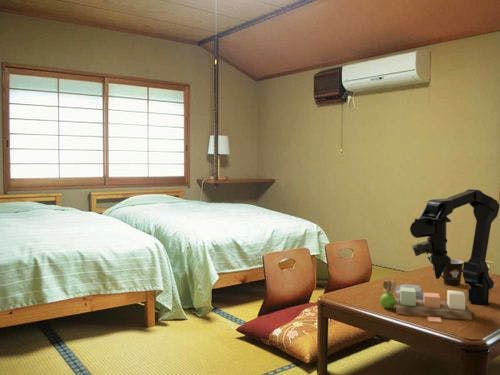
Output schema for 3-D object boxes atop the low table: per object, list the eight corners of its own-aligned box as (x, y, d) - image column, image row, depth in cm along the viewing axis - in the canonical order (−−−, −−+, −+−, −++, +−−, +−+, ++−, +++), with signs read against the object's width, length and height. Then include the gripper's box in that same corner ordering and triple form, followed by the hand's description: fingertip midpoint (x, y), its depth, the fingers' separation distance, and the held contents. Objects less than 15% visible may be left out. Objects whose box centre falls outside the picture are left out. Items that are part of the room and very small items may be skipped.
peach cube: (438, 307, 160) (438, 293, 160) (439, 311, 155) (440, 297, 155) (423, 305, 162) (423, 292, 161) (424, 310, 157) (424, 296, 157)
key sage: (414, 301, 162) (414, 288, 162) (415, 305, 158) (415, 292, 157) (400, 300, 164) (400, 287, 163) (400, 304, 159) (400, 291, 159)
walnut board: (465, 309, 161) (465, 302, 160) (471, 319, 150) (471, 312, 150) (395, 304, 167) (395, 297, 167) (396, 313, 157) (396, 307, 156)
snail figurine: (388, 312, 158) (389, 278, 158) (376, 306, 164) (377, 274, 164) (400, 309, 161) (401, 277, 160) (388, 304, 167) (389, 273, 166)
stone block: (399, 304, 173) (426, 300, 171) (396, 292, 173) (423, 288, 171) (395, 296, 184) (420, 293, 182) (393, 285, 185) (418, 281, 183)
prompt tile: (440, 318, 151) (440, 317, 151) (441, 322, 147) (441, 321, 147) (427, 317, 152) (427, 316, 152) (428, 321, 149) (428, 320, 149)
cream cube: (462, 305, 158) (462, 291, 158) (465, 309, 153) (465, 295, 153) (447, 304, 159) (447, 290, 159) (449, 308, 155) (449, 294, 154)
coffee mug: (464, 283, 195) (464, 260, 195) (461, 287, 188) (461, 264, 188) (435, 279, 202) (436, 257, 201) (432, 284, 194) (432, 261, 194)
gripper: (411, 230, 169) (411, 271, 170) (415, 239, 151) (415, 284, 152) (443, 231, 166) (442, 272, 167) (451, 240, 148) (451, 286, 149)
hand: (437, 278), depth 159 cm, fingers closed
